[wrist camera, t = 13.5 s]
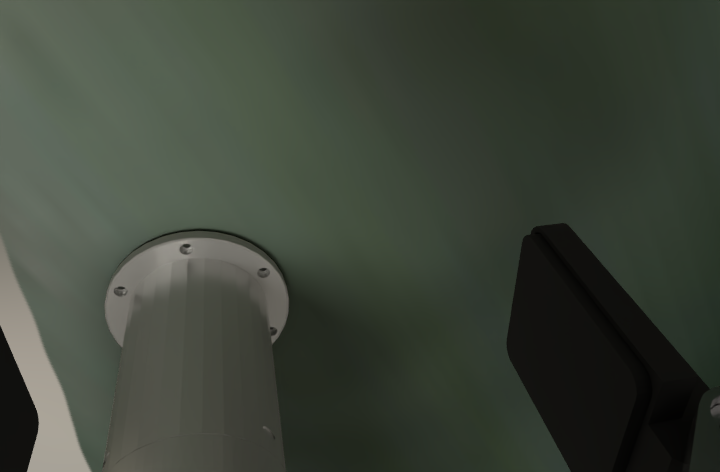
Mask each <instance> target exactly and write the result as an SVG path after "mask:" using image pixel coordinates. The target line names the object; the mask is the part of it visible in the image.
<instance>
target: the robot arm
mask: <svg viewBox="0 0 720 472" xmlns="http://www.w3.org/2000/svg"><path fill="white" fill-rule="evenodd" d="M288 313H289V297H288V291H287V285H286V283H285V280H284V277H283V275H282V273H281V271H280V270H279V268H278V267H277V265H276V264H275V262H274V261H273V260H272V259H271V258H270V257H269V256H268V255H267V254H266V253H265V252H263V251H262V250H260V249H259V248H257V247H256V246H254V245H253V244H251V243H249V242H247V241H244V240H242V239H240V238H237V237H235V236H231V235H227V234H223V233H218V232H208V231H190V232H179V233H175V234H171V235H167V236H163V237H160V238H158V239H155V240H153V241H151V242H148V243H146V244H144V245H143V246H141V247H140V248H138V249H137V250H135V251H133V252H132V253H131V254H130V255H129V256H128V257H127V258H126V259H125V260H124V261H123V262H122V263H121V264H120V265H119V266H118V268H117V269H116V271H115V272H114V274H113V275H112V277H111V280H110V283H109V286H108V289H107V293H106V299H105V318H106V321H107V324H108V328H109V331H110V332H111V334H112V335H113V337H114V339H115V340H116V342H117V343H118V344H119V345H120V346H121V347H122V353H121V359H120V365H119V371H118V377H117V383H116V389H115V396H114V402H113V408H112V414H111V420H110V426H109V432H108V438H107V444H106V451H105V457H104V463H103V469H102V472H286V466H285V457H284V448H283V439H282V430H281V421H280V412H279V403H278V394H277V385H276V376H275V367H274V358H273V349H272V344H273V343H274V342H275V341H276V340H277V338H278V337H279V336H280V334H281V332H282V330H283V328H284V326H285V324H286V321H287V317H288ZM507 351H508V355H509V358H510V360H511V362H512V364H513V366H514V368H515V370H516V371H517V373H518V375H519V377H520V379H521V381H522V382H523V384H524V386H525V388H526V390H527V392H528V393H529V395H530V397H531V399H532V401H533V403H534V404H535V406H536V408H537V410H538V412H539V414H540V415H541V417H542V419H543V421H544V423H545V425H546V426H547V428H548V430H549V432H550V434H551V436H552V437H553V439H554V441H555V443H556V445H557V447H558V448H559V450H560V452H561V454H562V456H563V458H564V459H565V461H566V463H567V465H568V467H569V469H570V470H571V472H720V386H717V387H713V388H711V389H709V387H708V386H707V385H706V384H705V383H704V382H703V381H702V379H701V378H700V377H699V376H698V375H697V374H696V372H695V371H694V370H693V369H692V368H691V367H690V365H689V364H688V363H687V362H686V361H685V360H684V358H683V357H682V356H681V355H680V354H679V353H678V352H677V350H676V349H675V348H674V347H673V346H672V345H671V343H670V342H669V341H668V340H667V339H666V338H665V336H664V335H663V334H662V333H661V332H660V331H659V329H658V328H657V327H656V326H655V325H654V324H653V323H652V321H651V320H650V319H649V318H648V317H647V316H646V314H645V313H644V312H643V311H642V310H641V309H640V307H639V306H638V305H637V304H636V303H635V302H634V300H633V299H632V298H631V297H630V296H629V295H628V294H627V292H625V290H624V289H623V288H622V287H621V286H620V285H619V283H618V282H617V281H616V280H615V279H614V278H613V276H612V275H611V274H610V273H609V272H608V271H607V269H606V268H605V267H604V266H603V265H602V264H601V262H600V261H599V260H598V259H597V258H596V257H595V256H594V254H593V253H592V252H591V251H590V250H589V249H588V247H587V246H586V245H585V244H584V243H583V242H582V240H581V239H580V238H579V237H578V236H577V235H576V233H575V232H574V231H573V230H572V229H571V228H570V227H569V226H568V225H567V224H564V223H560V224H552V225H544V226H536V227H534V228H533V230H532V231H531V235H526V236H525V237H524V238H523V242H522V247H521V254H520V260H519V266H518V273H517V279H516V285H515V292H514V298H513V304H512V311H511V317H510V323H509V330H508V336H507ZM38 425H39V422H38V414H37V410H36V408H35V405H34V404H33V401H32V398H31V396H30V394H29V391H28V389H27V387H26V385H25V382H24V380H23V377H22V375H21V373H20V371H19V368H18V366H17V364H16V361H15V359H14V357H13V354H12V352H11V350H10V347H9V345H8V343H7V341H6V338H5V336H4V333H3V331H2V329H1V326H0V472H27V469H28V465H29V462H30V458H31V455H32V451H33V448H34V444H35V440H36V437H37V433H38Z"/></svg>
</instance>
